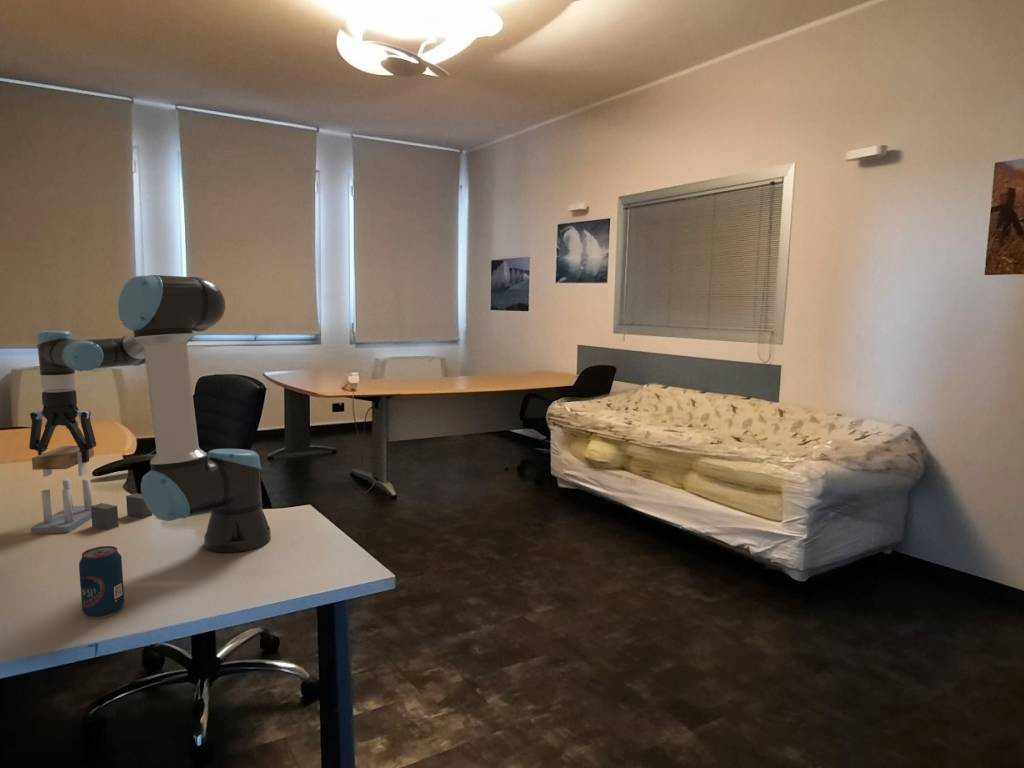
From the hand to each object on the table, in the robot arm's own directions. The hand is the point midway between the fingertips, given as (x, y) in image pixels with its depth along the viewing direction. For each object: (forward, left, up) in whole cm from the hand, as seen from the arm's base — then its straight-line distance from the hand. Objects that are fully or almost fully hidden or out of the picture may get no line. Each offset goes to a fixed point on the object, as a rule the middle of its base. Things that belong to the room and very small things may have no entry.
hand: (65, 474), depth 178 cm
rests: (-12, -7, -13) cm, 19 cm away
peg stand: (0, 0, -13) cm, 13 cm away
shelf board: (0, 0, +3) cm, 3 cm away
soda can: (-59, +28, -13) cm, 67 cm away
